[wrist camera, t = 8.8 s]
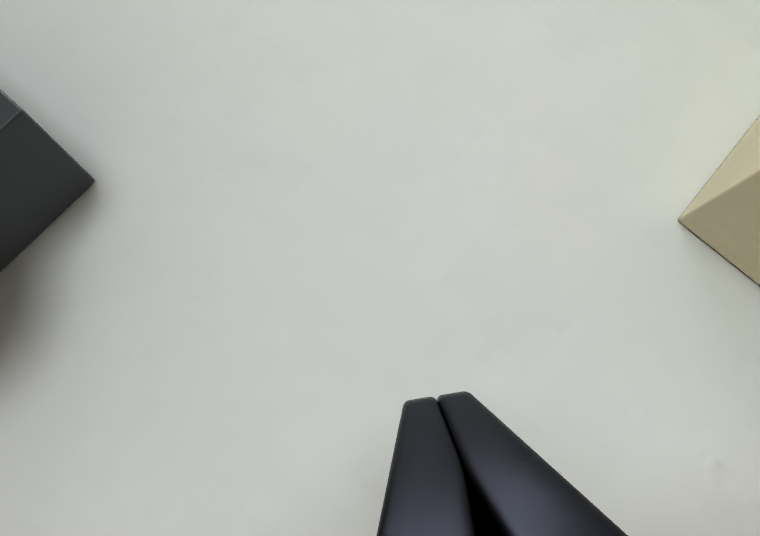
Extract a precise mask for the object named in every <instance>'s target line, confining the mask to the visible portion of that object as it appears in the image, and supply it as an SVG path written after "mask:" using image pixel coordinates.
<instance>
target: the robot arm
mask: <svg viewBox="0 0 760 536" xmlns="http://www.w3.org/2000/svg"><path fill="white" fill-rule="evenodd" d="M377 536H628V535H626V534H625V533H624V532H623V531H622V530H621V529H620V528H619V527H618V526H617V525H615V524H614V523H613V522H612V521H611V520H610V519H609V518H608V517H607V516H605V515H604V514H603V513H602V512H601V511H600V510H599V509H598V508H597V507H596V506H594V505H593V504H592V503H591V502H590V501H589V500H588V499H587V498H586V497H584V496H583V495H582V494H581V493H580V492H579V491H578V490H577V489H576V488H575V487H573V486H572V485H571V484H570V483H569V482H568V481H567V480H566V479H565V478H563V477H562V476H561V475H560V474H559V473H558V472H557V471H556V470H555V469H553V468H552V467H551V466H550V465H549V464H548V463H547V462H546V461H545V460H544V459H542V458H541V457H540V456H539V455H538V454H537V453H536V452H535V451H534V450H532V449H531V448H530V447H529V446H528V445H527V444H526V443H525V442H524V441H523V440H521V439H520V438H519V437H518V436H517V435H516V434H515V433H514V432H513V431H511V430H510V429H509V428H508V427H507V426H506V425H505V424H504V423H503V422H502V421H500V420H499V419H498V418H497V417H496V416H495V415H494V414H493V413H492V412H490V411H489V410H488V409H487V408H486V407H485V406H484V405H483V404H482V403H481V402H479V401H478V400H477V399H476V398H475V397H474V396H473V395H472V394H470V393H468V392H457V393H451V394H445V395H441V396H439V397H438V398H437V400H436V399H435V398H433V397H426V398H420V399H414V400H408V401H406V402H405V403H404V405H403V409H402V414H401V419H400V424H399V429H398V433H397V438H396V443H395V448H394V453H393V458H392V463H391V468H390V473H389V478H388V483H387V487H386V492H385V497H384V502H383V507H382V512H381V517H380V522H379V527H378V532H377Z"/></svg>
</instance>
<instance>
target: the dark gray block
mask: <svg viewBox="0 0 760 536" xmlns="http://www.w3.org/2000/svg"><path fill="white" fill-rule="evenodd" d="M94 181H95V180H94V178H92V177H91V176H90V175H89V174H88V173H87V172H86V171H85V170H84V169H83V168H82V167H81V166H80V165H79V164H78V163H77V162H76V161H75V160H74V159H73V158H72V157H71V156H70V155H69V154H68V153H67V152H66V151H65V150H64V149H63V148H62V147H61V146H60V145H59V144H58V143H57V142H55V141H54V140H53V139H52V138H51V137H50V136H49V135H48V134H47V133H46V132H45V131H44V130H43V129H42V128H41V127H40V126H39V125H38V124H37V123H36V122H35V121H34V120H33V119H32V118H31V117H30V116H29V115H28V114H27V113H26V112H25V111H24V110H23V109H21V108H20V107H19V106H18V105H17V104H16V103H15V102H14V101H12V100H11V99H10V98H9V97H8V96H7V95H6V94H5V93H3V92H2V91H1V90H0V271H1V270H2V269H3V268H4V267H6V266H7V265H8V264H9V263H10V262H11V261H12V260H13V259H14V258H15V257H16V256H17V255H18V254H19V253H20V252H21V251H22V250H23V249H24V248H25V247H27V246H28V245H29V244H30V243H31V242H32V241H33V240H34V239H35V238H36V237H37V236H38V235H39V234H40V233H41V232H42V231H43V230H44V229H45V228H46V227H47V226H49V225H50V224H51V223H52V222H53V221H54V220H55V219H56V218H57V217H58V216H59V215H60V214H61V213H62V212H63V211H64V210H65V209H66V208H67V207H68V206H70V205H71V204H72V203H73V202H74V201H75V200H76V199H77V198H78V197H79V196H80V195H81V194H82V193H83V192H84V191H85V190H86V189H87V188H88V187H89V186H91V185H92V184H93V183H94Z"/></svg>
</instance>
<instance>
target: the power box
mask: <svg viewBox="0 0 760 536" xmlns="http://www.w3.org/2000/svg"><path fill="white" fill-rule="evenodd" d="M679 222H681V223H682V224H683V225H685V226H686V227H687V228H688V229H690V230H691V231H692V232H693V233H695V234H696V235H697V236H698V237H700V238H701V239H702V240H703V241H705V242H706V243H707V244H708V245H710V246H711V247H712V248H714V249H715V250H716V251H717V252H719V253H720V254H721V255H722V256H724V257H725V258H726V259H727V260H729V261H730V262H731V263H732V264H734V265H735V266H736V267H737V268H739V269H740V270H741V271H742V272H744V273H745V274H746V275H748V276H749V277H750V278H751V279H753V280H754V281H755V282H756V283H758V284H759V285H760V116H759V117H758V118H757V120H756V121H755V122H754V123H753V125H752V126H751V127H750V129H749V130H748V131H747V132H746V134H745V135H744V136H743V137H742V139H741V140H740V141H739V143H738V144H737V145H736V146H735V148H734V149H733V150H732V151H731V153H730V154H729V155H728V157H727V158H726V159H725V160H724V162H723V163H722V164H721V165H720V167H719V168H718V169H717V171H716V172H715V173H714V174H713V176H712V177H711V178H710V179H709V181H708V182H707V183H706V184H705V186H704V187H703V188H702V190H701V191H700V192H699V193H698V195H697V196H696V197H695V198H694V200H693V201H692V202H691V204H690V205H689V206H688V207H687V209H686V210H685V211H684V212H683V214H682V215H681V216H680V218H679Z"/></svg>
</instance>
